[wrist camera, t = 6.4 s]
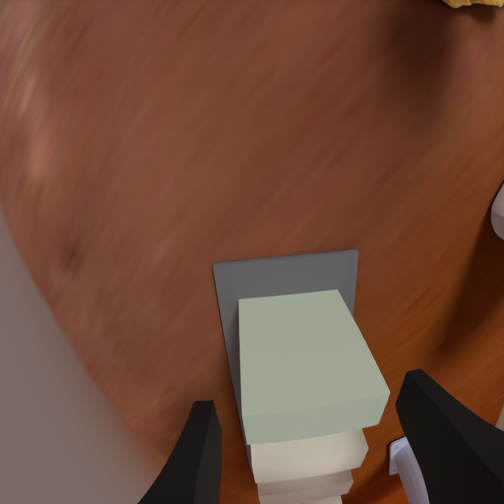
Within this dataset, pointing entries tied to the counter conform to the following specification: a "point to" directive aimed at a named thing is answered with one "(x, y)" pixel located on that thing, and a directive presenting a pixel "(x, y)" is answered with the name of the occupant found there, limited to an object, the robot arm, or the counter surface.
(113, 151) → the counter surface
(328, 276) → the domino mat
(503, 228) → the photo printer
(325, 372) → the pale green rectangular block
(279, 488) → the domino
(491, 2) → the teal and tan figure
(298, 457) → the domino
